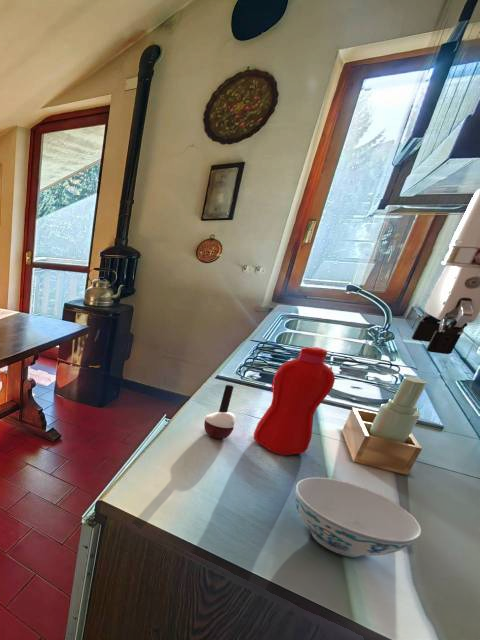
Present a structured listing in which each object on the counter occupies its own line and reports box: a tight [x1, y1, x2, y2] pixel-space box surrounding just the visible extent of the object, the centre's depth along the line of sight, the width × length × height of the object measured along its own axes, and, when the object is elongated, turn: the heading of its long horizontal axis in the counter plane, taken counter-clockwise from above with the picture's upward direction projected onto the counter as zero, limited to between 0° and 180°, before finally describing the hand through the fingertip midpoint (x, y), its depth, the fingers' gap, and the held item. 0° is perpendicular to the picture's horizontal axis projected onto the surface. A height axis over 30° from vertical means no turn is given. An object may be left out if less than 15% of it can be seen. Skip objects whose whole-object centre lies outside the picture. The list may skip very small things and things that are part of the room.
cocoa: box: [203, 384, 236, 440], centre depth 96 cm, size 10×6×12 cm, turn 122°
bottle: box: [368, 376, 428, 443], centre depth 85 cm, size 6×6×19 cm
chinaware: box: [294, 477, 422, 558], centre depth 65 cm, size 15×15×8 cm
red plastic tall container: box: [253, 346, 336, 456], centre depth 90 cm, size 9×11×25 cm
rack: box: [341, 407, 423, 476], centre depth 91 cm, size 9×17×7 cm, turn 145°
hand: (429, 346), depth 79 cm, fingers open, 9 cm apart
